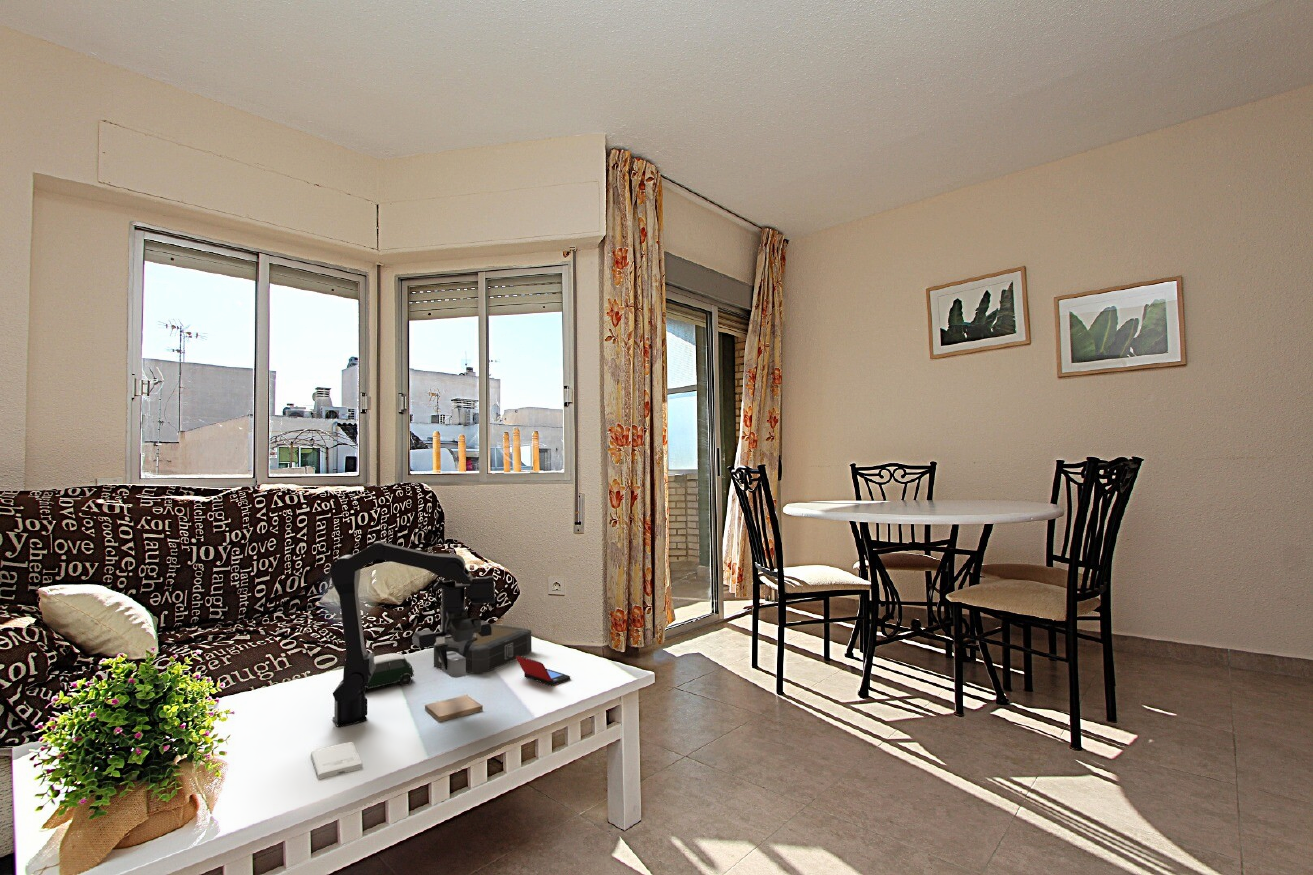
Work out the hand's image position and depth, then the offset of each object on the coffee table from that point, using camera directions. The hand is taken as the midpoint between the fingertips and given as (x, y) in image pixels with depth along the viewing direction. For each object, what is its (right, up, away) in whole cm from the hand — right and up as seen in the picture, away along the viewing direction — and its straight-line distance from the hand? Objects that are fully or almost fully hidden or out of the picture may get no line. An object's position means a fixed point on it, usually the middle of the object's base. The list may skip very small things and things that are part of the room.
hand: (453, 667), depth 165 cm
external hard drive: (-16, -11, -28) cm, 34 cm away
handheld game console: (+19, -11, +22) cm, 31 cm away
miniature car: (-27, -12, +19) cm, 35 cm away
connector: (-1, -1, +1) cm, 2 cm away
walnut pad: (0, -11, 0) cm, 11 cm away
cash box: (-3, -12, +42) cm, 44 cm away
